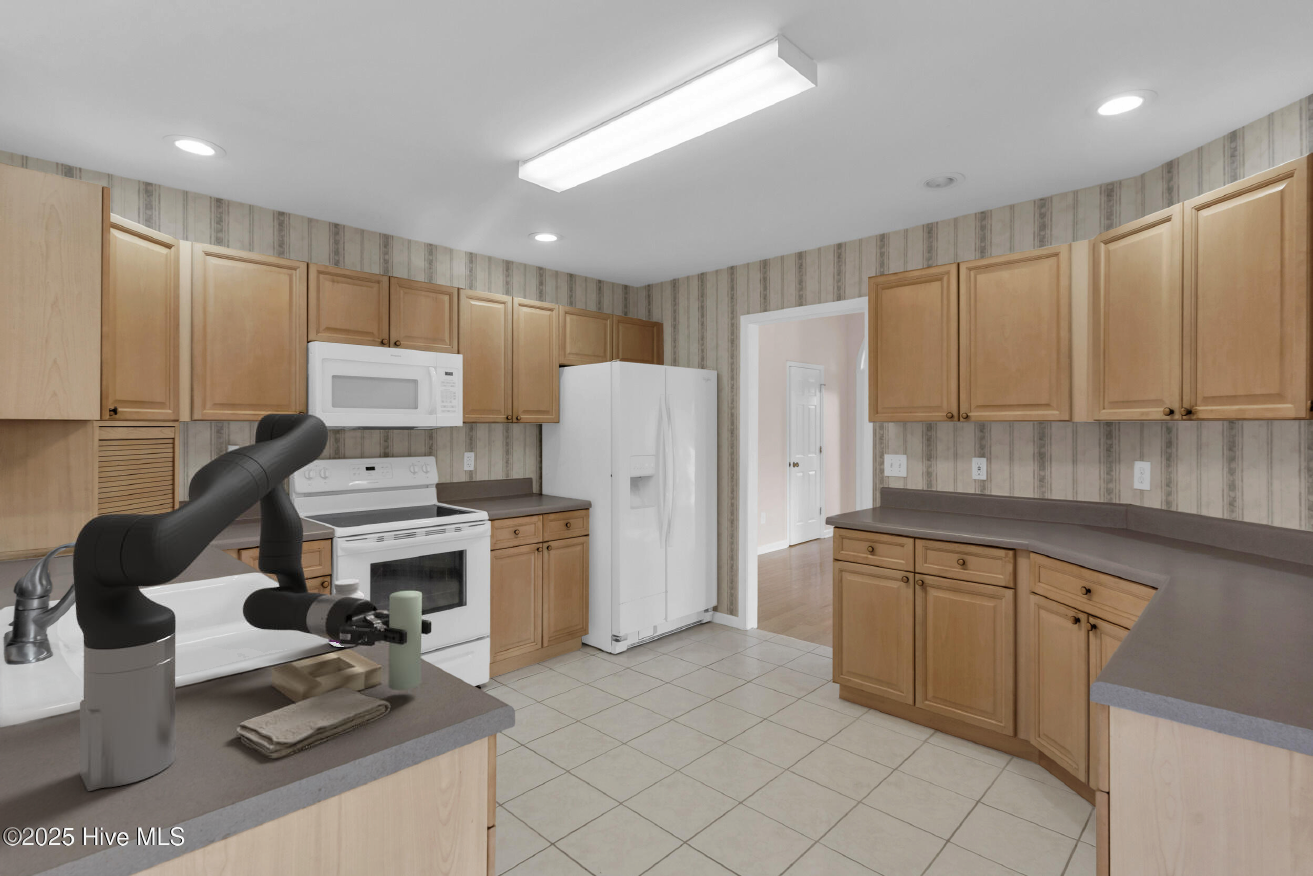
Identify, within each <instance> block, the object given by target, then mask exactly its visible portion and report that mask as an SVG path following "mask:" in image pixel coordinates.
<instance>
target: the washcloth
mask: <svg viewBox="0 0 1313 876" xmlns="http://www.w3.org/2000/svg"><path fill="white" fill-rule="evenodd" d="M390 709H391V704H390V702H387V700H382V699H379V698H375V697H374V696H367V695H364V694H363V693H360V692H358V691H354V690H351V689H346V688H340V689H336V690H334V691H330V692H328V693H325V694H323V695H320V696H315V697H311V698H309V699H305V700H303V701H301V702H298V703H295V702H294V703H292V704H289V705H286V706H283V707H281V708H279V709H276V710H273V711H270V712H267V713H265V714H262V715H258V716H256V717H255V716H254V717H253V718H250V719H247V720H244V721H241V723H239V724H238V725H237V728H236V732H235V733H237V734H236V738H237V737H238V738H237V739H239V737H241V738H240V742H241V743H242V744H243V745H245V744H246V746H247V747H248V746H249V748H250V749H253V748H254V750H256V751H257V752H259V753H260V754H262V755H264V756H266V757H267V756H268V758H270V759H278V758H281V757H286V756H290V755H293V754H294V753H297V752H299V751H298V750H300V751H302V750H301V749H303V750H306V749H308V748H311V747H314V746H315V745H318V744H321V743H322V742H325V741H327V739H328V740H330V739H333V738H335V737H337V736H340V735H342V734H344V733H346V732H348V731H352V730H354V729H356V728H358V727H360V726H359V725H361V726H363V725H365V724H367V722H368V723H370V722H373V721H375V720H377V718H378V719H380V718H382V717H384V716H385V715H387V714H388V713H389V712H390ZM374 719H375V720H374ZM364 723H365V724H364ZM362 724H363V725H362ZM357 726H358V727H357ZM355 727H356V728H355ZM353 728H354V729H353ZM339 734H340V735H339ZM334 736H335V737H334ZM320 742H321V743H320ZM306 746H307V747H306ZM310 746H311V747H310ZM305 748H306V749H305Z"/></svg>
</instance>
